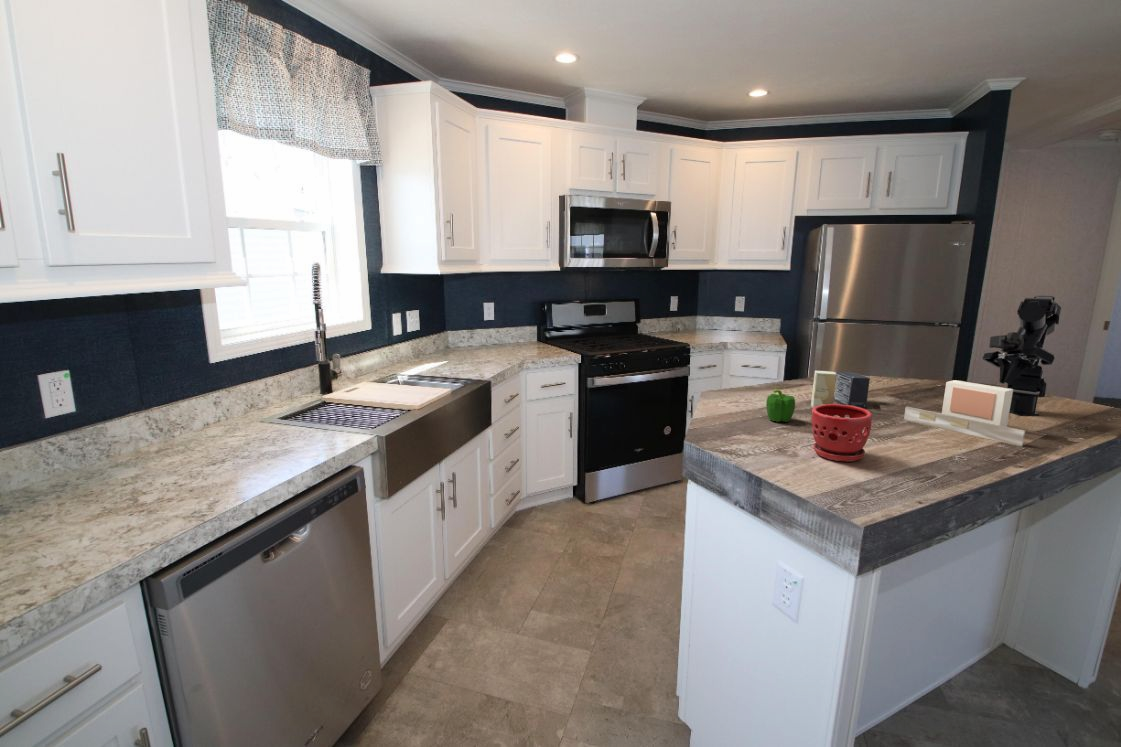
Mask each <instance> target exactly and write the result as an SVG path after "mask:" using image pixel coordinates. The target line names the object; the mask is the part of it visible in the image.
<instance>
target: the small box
mask: <svg viewBox="0 0 1121 747" xmlns="http://www.w3.org/2000/svg"><path fill="white" fill-rule="evenodd" d="M836 374H837V376H836V384H835V392H834V400H835V401H834V400H833V401H834V402H836V401H837V402H836V403H838V402H839V403H838V404H840V403H841V404H840V405H842V404H843V405H849V406H855V407H859V408H863V409H865V408H867V405H868V404H867V402H868V396H869V395H868V394H869V388H870V382H871V381H870V379H871V378H870V377H868V376H865V375H862V374H861V373H858V372H854V371H836Z"/></svg>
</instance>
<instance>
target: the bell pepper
mask: <svg viewBox="0 0 1121 747" xmlns="http://www.w3.org/2000/svg"><path fill="white" fill-rule="evenodd" d="M772 392H773V393H771V394H769V395H768V397H767V398H766V403H765V404H766V405H765V406H766V412H767V417H768V420H770V421H771V420H772V422H774V421H776V422H775V423H778V422H779V423H781V421H783V422H782V423H788V422H790V421H791V420H792V417H793V415H794V412H795V411H796V399H795V396H793V395H786V394H784V393H783V392H782V390H780V389H777V388H775V389H773V390H772ZM776 393H778V394H776Z"/></svg>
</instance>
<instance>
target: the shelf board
mask: <svg viewBox="0 0 1121 747" xmlns="http://www.w3.org/2000/svg"><path fill="white" fill-rule="evenodd" d="M903 421H906V422H910V423H916V424H919V425H924V426H928V427H933V428H936V429H942V430H945V431H950V432H955V433H959V434H965V435H969V436H971V437H978V438H981V439H986V440H992V441H996V442H999V443H1003V444H1009V445H1012V446H1017V447H1023V446H1026V445H1028V444H1030V443H1032V442H1035V441H1036V440H1039V439H1040V438H1043V437H1046V435H1048V434H1047V433H1044V432H1039V431H1038V432H1037V431H1032V430H1027V429H1023V428H1018V427H1012V426H1008V425H1007V427H1004V426H1000V425H995V424H990V423H985V422H980V421H975V420H970V419H965V418H960V417H956V416H951V415H946V414H942V412H940V411H934V410H931V411H929V410H925V409H921V408H916V407H911V406H905V408H904V417H903Z"/></svg>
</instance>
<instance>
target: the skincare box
mask: <svg viewBox="0 0 1121 747" xmlns="http://www.w3.org/2000/svg"><path fill="white" fill-rule="evenodd" d="M836 379H837V372H836V371H829V370H814V374H813V386H812V391H811V400H810V406H811V408H812V409H813V408H814V407H816V406H819V405H826V404H834V395H835V387H836Z"/></svg>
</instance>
